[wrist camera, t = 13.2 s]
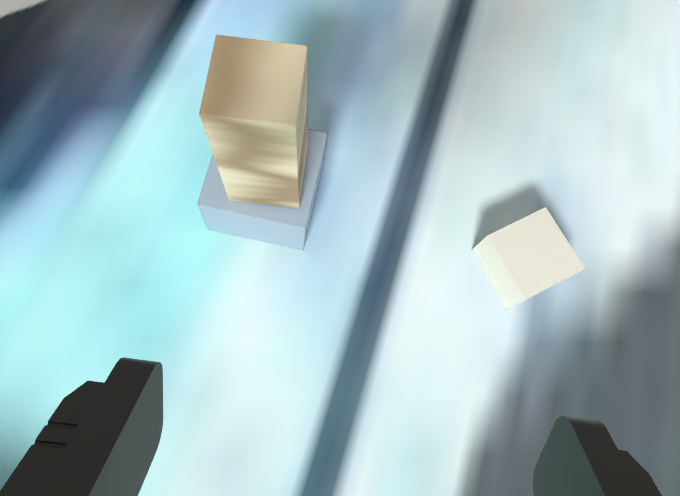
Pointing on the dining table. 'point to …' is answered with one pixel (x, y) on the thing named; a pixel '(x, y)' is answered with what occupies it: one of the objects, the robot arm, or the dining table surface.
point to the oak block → (257, 118)
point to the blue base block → (259, 218)
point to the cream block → (526, 257)
